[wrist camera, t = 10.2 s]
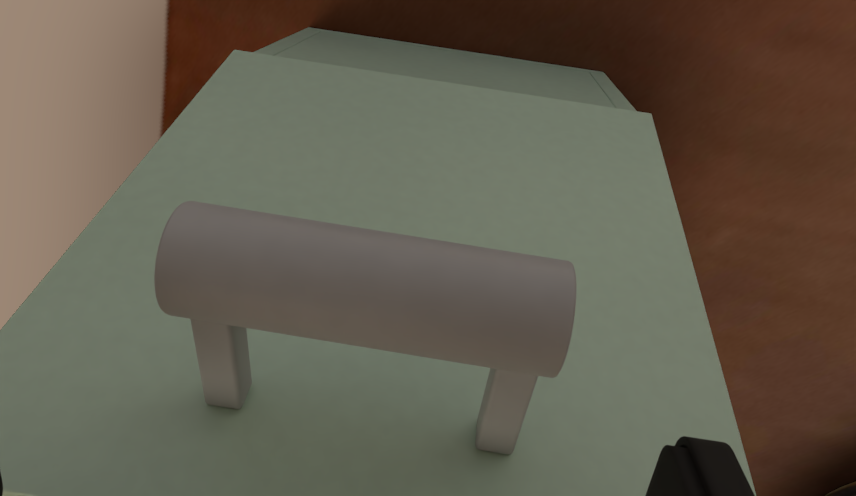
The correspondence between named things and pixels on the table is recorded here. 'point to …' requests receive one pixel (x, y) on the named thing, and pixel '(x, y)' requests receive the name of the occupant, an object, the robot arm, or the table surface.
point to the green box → (450, 66)
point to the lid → (368, 303)
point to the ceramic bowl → (844, 490)
